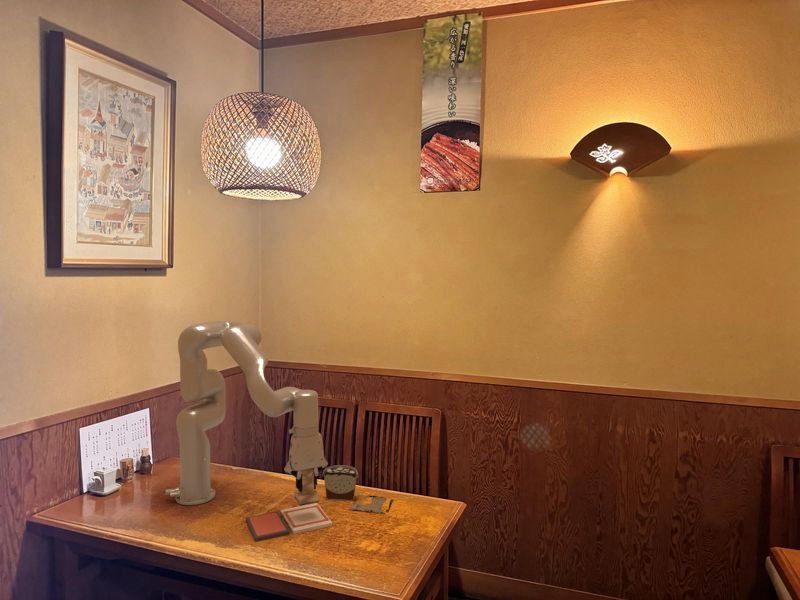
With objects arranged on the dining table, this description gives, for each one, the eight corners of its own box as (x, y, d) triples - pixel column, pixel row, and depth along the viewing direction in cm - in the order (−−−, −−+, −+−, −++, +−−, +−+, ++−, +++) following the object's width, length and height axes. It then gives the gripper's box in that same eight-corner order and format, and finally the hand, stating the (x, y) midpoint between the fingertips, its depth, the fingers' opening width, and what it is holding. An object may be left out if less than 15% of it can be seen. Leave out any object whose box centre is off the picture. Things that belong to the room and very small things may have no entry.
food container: (361, 493, 187) (361, 465, 186) (357, 501, 181) (358, 472, 180) (326, 491, 188) (326, 463, 187) (322, 499, 182) (322, 470, 181)
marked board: (293, 534, 158) (293, 530, 158) (280, 513, 171) (280, 509, 171) (332, 525, 163) (332, 522, 163) (316, 506, 177) (316, 502, 177)
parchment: (387, 515, 171) (387, 512, 171) (348, 511, 174) (348, 508, 174) (395, 499, 183) (395, 496, 183) (358, 495, 186) (358, 493, 186)
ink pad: (255, 541, 153) (255, 537, 153) (245, 520, 166) (245, 517, 166) (289, 534, 158) (289, 530, 158) (278, 514, 170) (277, 510, 170)
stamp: (299, 505, 163) (299, 469, 162) (294, 498, 168) (294, 463, 167) (318, 502, 166) (318, 466, 165) (313, 494, 171) (312, 460, 170)
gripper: (282, 438, 159) (283, 498, 160) (335, 430, 166) (336, 488, 167) (276, 431, 165) (276, 489, 166) (327, 424, 173) (328, 480, 174)
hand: (306, 488), depth 167 cm, fingers closed on stamp, 3 cm apart
